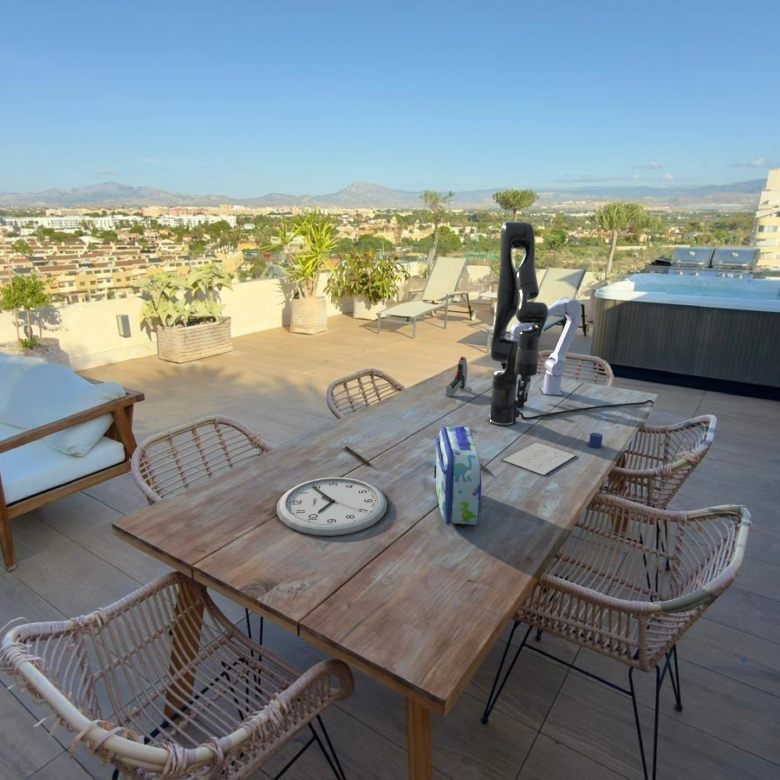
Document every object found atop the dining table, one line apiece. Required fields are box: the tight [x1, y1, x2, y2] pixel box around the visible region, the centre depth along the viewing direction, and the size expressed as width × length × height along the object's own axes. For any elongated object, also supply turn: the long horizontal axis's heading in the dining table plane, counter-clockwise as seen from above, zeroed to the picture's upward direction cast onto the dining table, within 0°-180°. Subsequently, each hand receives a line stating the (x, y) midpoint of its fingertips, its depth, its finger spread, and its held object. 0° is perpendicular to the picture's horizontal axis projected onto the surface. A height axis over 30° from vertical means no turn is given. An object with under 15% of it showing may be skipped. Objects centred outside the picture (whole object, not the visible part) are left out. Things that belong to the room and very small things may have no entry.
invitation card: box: [502, 442, 577, 476], centre depth 174 cm, size 21×1×15 cm
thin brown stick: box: [344, 445, 370, 465], centre depth 173 cm, size 15×1×1 cm, turn 34°
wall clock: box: [276, 476, 388, 537], centre depth 142 cm, size 30×2×30 cm
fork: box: [480, 463, 488, 474], centre depth 169 cm, size 3×16×2 cm, turn 15°
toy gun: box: [445, 356, 468, 397], centre depth 239 cm, size 2×16×15 cm
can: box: [588, 432, 603, 449], centre depth 185 cm, size 4×4×4 cm
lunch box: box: [433, 425, 482, 526], centre depth 140 cm, size 26×11×21 cm, turn 179°
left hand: (521, 404), depth 185 cm, fingers open, 8 cm apart
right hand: (513, 379), depth 241 cm, fingers open, 7 cm apart
